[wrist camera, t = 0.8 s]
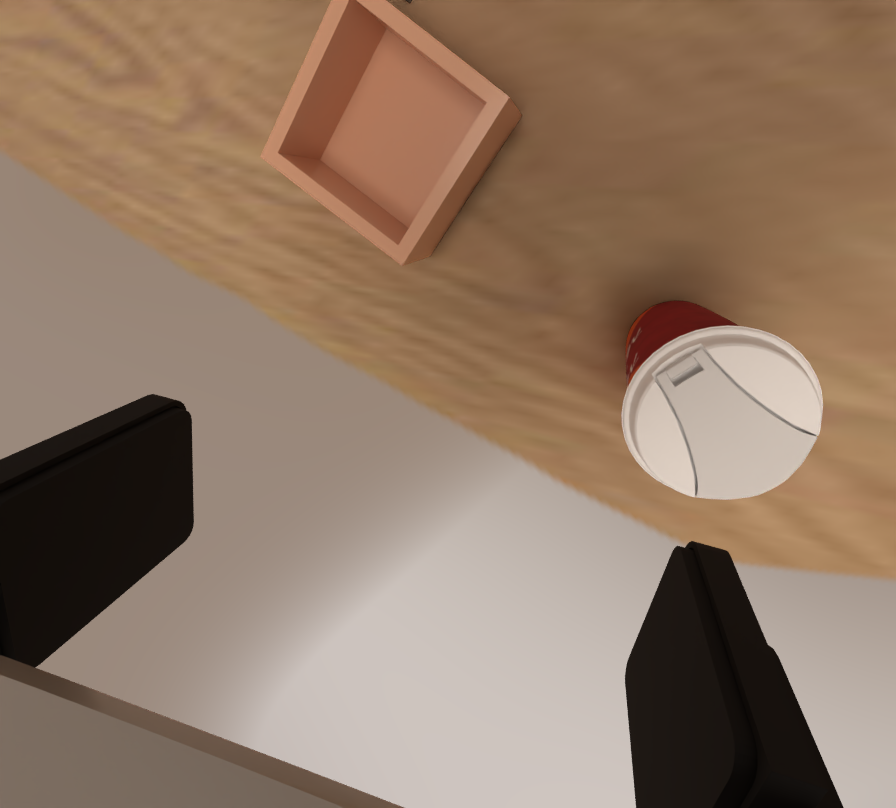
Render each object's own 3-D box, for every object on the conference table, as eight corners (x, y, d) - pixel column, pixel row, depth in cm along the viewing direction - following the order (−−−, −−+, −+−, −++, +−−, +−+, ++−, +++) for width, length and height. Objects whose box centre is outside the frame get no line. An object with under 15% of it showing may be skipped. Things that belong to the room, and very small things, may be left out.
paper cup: (585, 331, 35) (586, 404, 22) (693, 256, 32) (767, 290, 19) (652, 423, 36) (691, 543, 23) (764, 358, 33) (879, 455, 20)
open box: (387, 10, 31) (345, -32, 26) (522, 115, 31) (509, 97, 26) (310, 164, 35) (260, 156, 30) (429, 256, 36) (402, 265, 30)
